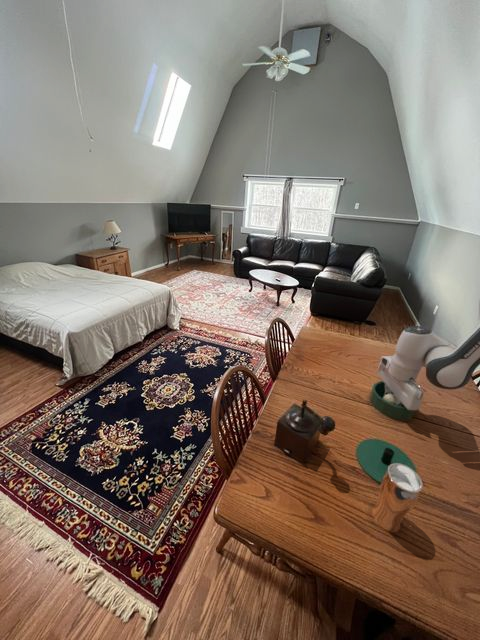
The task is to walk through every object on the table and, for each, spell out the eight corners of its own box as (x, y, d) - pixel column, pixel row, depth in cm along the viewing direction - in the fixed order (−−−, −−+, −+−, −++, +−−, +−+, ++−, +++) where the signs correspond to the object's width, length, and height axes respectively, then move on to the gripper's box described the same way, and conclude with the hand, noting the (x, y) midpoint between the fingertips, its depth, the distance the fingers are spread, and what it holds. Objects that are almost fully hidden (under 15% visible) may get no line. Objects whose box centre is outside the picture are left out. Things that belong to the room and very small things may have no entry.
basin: (397, 392, 106) (401, 381, 104) (422, 420, 93) (428, 408, 90) (362, 392, 105) (365, 381, 102) (382, 421, 91) (387, 409, 89)
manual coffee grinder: (271, 445, 80) (278, 398, 73) (289, 424, 88) (297, 379, 81) (320, 477, 72) (333, 428, 64) (335, 450, 80) (348, 404, 72)
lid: (394, 440, 84) (398, 428, 82) (429, 489, 70) (436, 477, 68) (346, 441, 83) (350, 429, 81) (372, 492, 69) (377, 479, 67)
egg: (396, 400, 101) (399, 391, 99) (403, 408, 97) (407, 399, 95) (378, 400, 100) (381, 391, 98) (385, 409, 96) (388, 399, 94)
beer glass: (364, 516, 63) (381, 474, 57) (377, 497, 68) (394, 456, 61) (394, 543, 59) (416, 500, 52) (407, 521, 63) (428, 479, 57)
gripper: (433, 389, 83) (419, 423, 89) (394, 354, 101) (384, 383, 107) (414, 390, 82) (401, 423, 88) (378, 354, 101) (369, 383, 107)
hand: (391, 401), depth 98 cm, fingers closed on egg, 4 cm apart
